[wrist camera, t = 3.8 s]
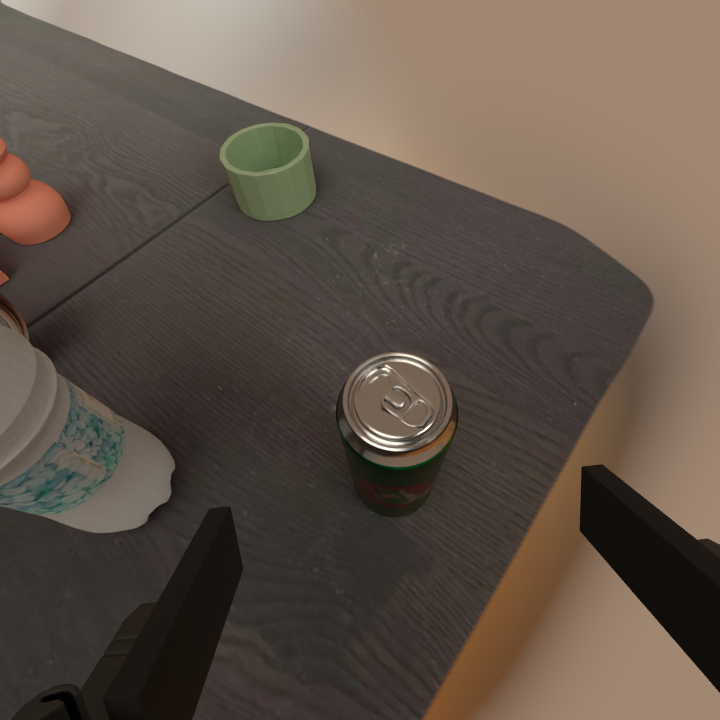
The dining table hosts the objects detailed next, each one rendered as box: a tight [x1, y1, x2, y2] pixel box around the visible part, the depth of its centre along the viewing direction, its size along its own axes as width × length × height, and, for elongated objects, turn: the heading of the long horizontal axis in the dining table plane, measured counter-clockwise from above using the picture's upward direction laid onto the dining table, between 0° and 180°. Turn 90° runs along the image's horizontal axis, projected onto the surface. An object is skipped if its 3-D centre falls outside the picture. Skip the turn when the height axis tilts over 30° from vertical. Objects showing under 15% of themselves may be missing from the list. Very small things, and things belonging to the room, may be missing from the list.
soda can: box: [336, 352, 458, 517], centre depth 21 cm, size 5×5×12 cm
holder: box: [219, 123, 317, 221], centre depth 39 cm, size 8×8×5 cm
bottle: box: [0, 324, 175, 533], centre depth 18 cm, size 7×7×20 cm
